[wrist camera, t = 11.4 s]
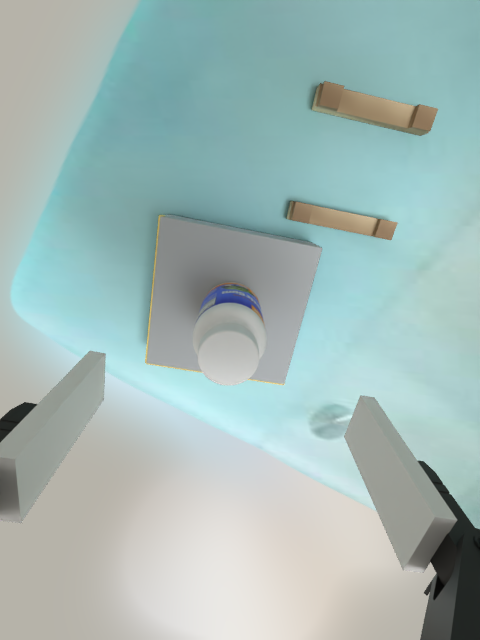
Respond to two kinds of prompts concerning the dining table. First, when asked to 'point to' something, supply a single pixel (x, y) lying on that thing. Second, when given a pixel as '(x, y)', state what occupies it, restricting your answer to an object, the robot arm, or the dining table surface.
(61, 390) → the robot arm
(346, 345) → the dining table surface
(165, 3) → the dining table surface
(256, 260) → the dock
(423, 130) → the wooden rail rack
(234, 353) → the pill bottle
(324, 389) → the dining table surface
